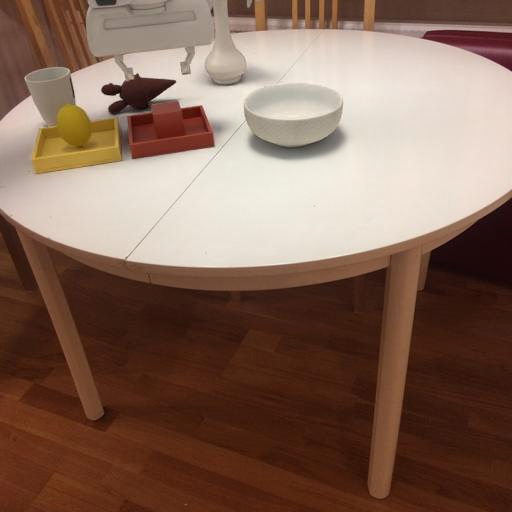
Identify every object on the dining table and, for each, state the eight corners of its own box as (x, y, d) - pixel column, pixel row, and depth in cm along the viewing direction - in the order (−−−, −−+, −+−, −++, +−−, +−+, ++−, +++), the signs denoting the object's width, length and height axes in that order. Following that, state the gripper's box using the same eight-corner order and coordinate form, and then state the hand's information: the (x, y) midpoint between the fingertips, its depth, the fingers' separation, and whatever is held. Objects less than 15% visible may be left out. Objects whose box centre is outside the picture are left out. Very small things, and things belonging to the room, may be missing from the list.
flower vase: (258, 93, 110) (250, -42, 95) (180, 86, 116) (161, -42, 101) (278, 72, 120) (274, -53, 104) (206, 67, 126) (192, -53, 110)
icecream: (167, 63, 109) (97, 82, 106) (174, 63, 103) (99, 84, 100) (177, 96, 112) (109, 116, 109) (184, 99, 106) (111, 120, 103)
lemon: (70, 141, 95) (57, 98, 90) (99, 140, 95) (88, 96, 90) (60, 155, 91) (46, 110, 86) (91, 154, 90) (79, 109, 86)
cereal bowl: (328, 165, 83) (329, 123, 79) (231, 154, 88) (227, 114, 84) (350, 122, 96) (353, 84, 91) (265, 115, 101) (263, 78, 97)
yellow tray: (35, 174, 87) (30, 159, 85) (43, 141, 97) (38, 128, 96) (121, 160, 89) (118, 146, 87) (120, 130, 99) (117, 116, 98)
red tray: (132, 159, 89) (129, 145, 88) (130, 128, 100) (127, 115, 98) (214, 146, 91) (213, 132, 90) (203, 117, 102) (202, 104, 100)
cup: (89, 126, 102) (75, 74, 96) (48, 138, 98) (31, 85, 92) (75, 113, 107) (61, 64, 101) (36, 124, 104) (19, 74, 98)
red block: (157, 141, 93) (152, 114, 90) (155, 130, 97) (150, 104, 94) (185, 137, 93) (181, 110, 90) (182, 126, 97) (178, 100, 94)
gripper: (208, -24, 84) (216, 64, 93) (77, -12, 81) (98, 78, 90) (214, -17, 79) (222, 75, 88) (75, -4, 76) (97, 90, 85)
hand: (158, 76), depth 89 cm, fingers open, 8 cm apart
